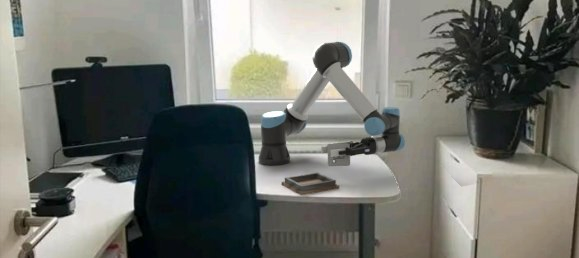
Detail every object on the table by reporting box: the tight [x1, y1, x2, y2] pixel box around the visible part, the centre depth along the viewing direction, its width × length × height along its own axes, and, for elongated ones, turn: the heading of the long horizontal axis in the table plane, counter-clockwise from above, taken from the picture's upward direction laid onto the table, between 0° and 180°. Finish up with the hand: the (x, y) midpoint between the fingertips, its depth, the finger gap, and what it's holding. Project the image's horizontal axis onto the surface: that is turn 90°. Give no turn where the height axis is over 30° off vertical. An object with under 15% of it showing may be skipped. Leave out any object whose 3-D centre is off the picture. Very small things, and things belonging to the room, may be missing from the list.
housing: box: [281, 172, 340, 196], centre depth 224 cm, size 17×17×3 cm
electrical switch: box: [326, 142, 351, 167], centre depth 232 cm, size 9×5×9 cm, turn 93°
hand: (326, 151), depth 230 cm, fingers closed on electrical switch, 7 cm apart
